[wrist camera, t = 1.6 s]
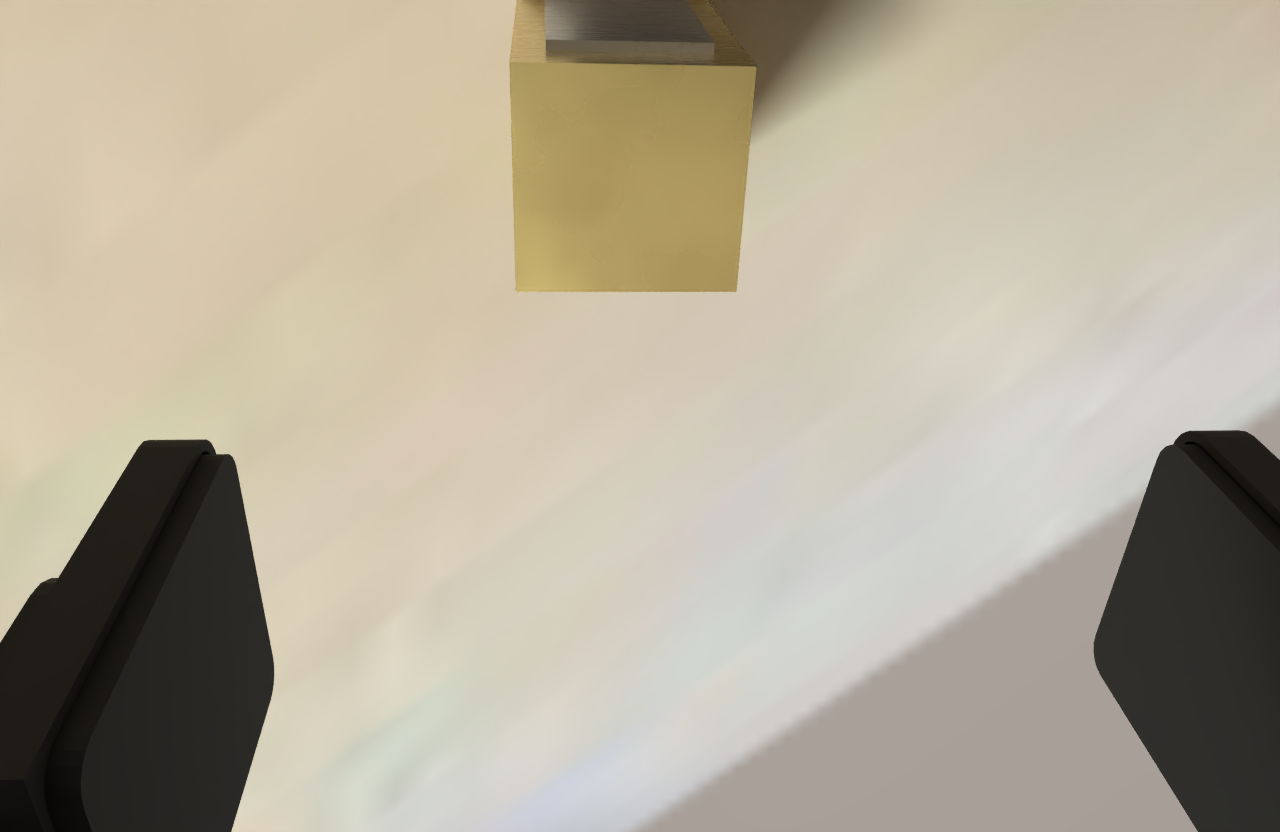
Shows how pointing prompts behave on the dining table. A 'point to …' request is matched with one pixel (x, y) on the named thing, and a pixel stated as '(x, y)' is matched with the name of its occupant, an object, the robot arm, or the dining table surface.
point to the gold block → (628, 146)
